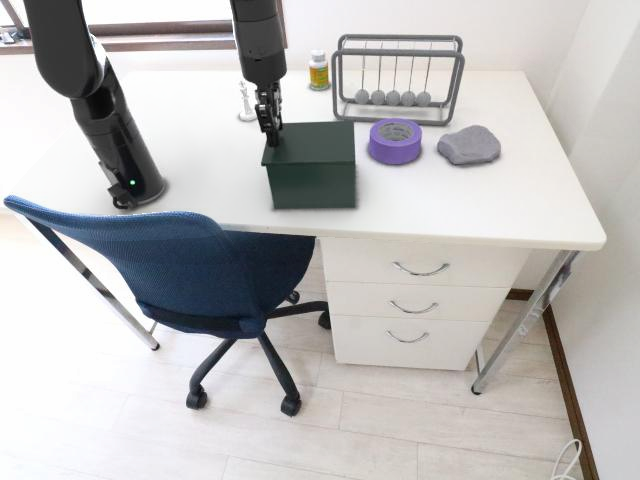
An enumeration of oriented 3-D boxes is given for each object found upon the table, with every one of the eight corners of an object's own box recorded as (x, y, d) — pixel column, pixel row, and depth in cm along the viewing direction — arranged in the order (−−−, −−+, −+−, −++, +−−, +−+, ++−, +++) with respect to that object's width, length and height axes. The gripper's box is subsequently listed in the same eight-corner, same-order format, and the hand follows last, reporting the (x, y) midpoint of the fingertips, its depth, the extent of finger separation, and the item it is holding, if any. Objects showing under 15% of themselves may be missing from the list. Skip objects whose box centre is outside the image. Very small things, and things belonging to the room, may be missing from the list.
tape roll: (358, 149, 89) (359, 131, 85) (392, 130, 94) (394, 112, 90) (395, 171, 83) (397, 152, 79) (429, 149, 87) (433, 131, 84)
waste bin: (274, 208, 77) (265, 166, 69) (281, 168, 86) (274, 126, 78) (354, 207, 76) (355, 164, 68) (353, 166, 85) (353, 124, 77)
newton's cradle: (332, 120, 98) (330, 50, 85) (339, 100, 105) (337, 33, 92) (450, 126, 93) (467, 53, 80) (449, 105, 100) (464, 34, 87)
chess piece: (254, 121, 101) (247, 85, 93) (237, 120, 101) (228, 84, 94) (260, 111, 104) (253, 76, 96) (243, 110, 105) (235, 75, 97)
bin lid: (261, 166, 69) (256, 143, 65) (270, 126, 78) (266, 104, 74) (355, 164, 68) (355, 140, 64) (353, 123, 77) (354, 101, 73)
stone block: (500, 162, 85) (476, 133, 90) (509, 147, 81) (483, 118, 86) (455, 178, 83) (432, 147, 88) (462, 163, 79) (438, 132, 84)
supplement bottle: (319, 92, 109) (317, 58, 102) (307, 86, 112) (304, 52, 105) (332, 85, 111) (331, 51, 104) (320, 80, 114) (318, 46, 107)
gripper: (244, 29, 64) (262, 118, 77) (228, 66, 55) (251, 160, 68) (287, 27, 64) (298, 117, 77) (278, 63, 54) (292, 159, 67)
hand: (276, 137), depth 72 cm, fingers closed on bin lid, 5 cm apart
